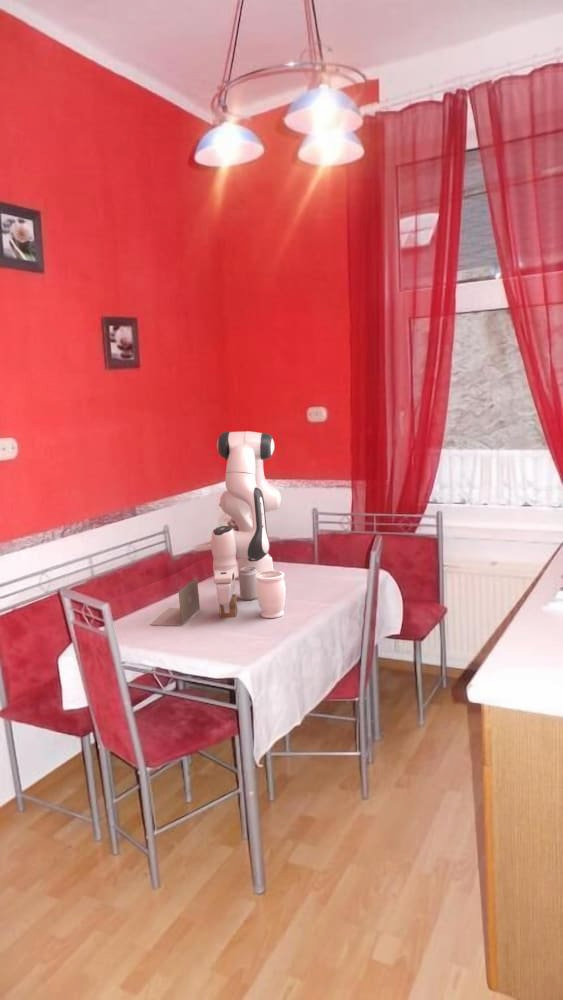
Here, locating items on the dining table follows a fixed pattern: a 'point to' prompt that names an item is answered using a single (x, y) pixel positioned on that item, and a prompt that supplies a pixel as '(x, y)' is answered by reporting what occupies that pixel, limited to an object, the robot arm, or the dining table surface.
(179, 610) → the laptop
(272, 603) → the jar
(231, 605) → the walnut block
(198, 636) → the dining table surface
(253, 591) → the can
